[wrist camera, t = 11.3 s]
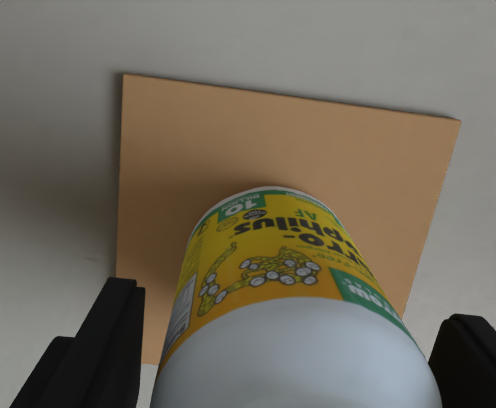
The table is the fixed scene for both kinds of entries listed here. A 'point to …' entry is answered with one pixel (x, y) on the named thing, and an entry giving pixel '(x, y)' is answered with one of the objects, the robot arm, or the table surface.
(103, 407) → the robot arm
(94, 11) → the table surface
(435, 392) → the supplement bottle
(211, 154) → the coaster
